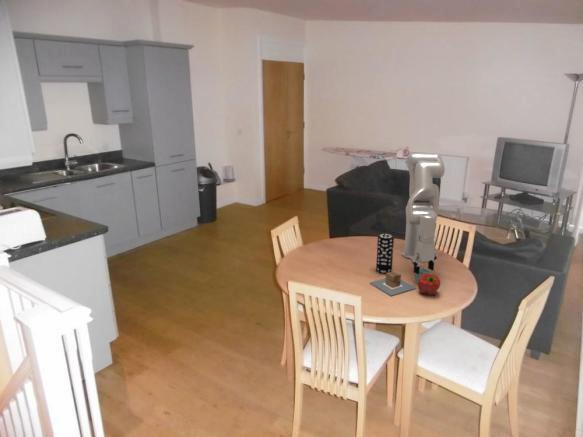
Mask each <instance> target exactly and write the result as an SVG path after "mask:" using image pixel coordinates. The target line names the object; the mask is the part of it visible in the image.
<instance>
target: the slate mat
mask: <svg viewBox="0 0 583 437" xmlns="http://www.w3.org/2000/svg"><path fill="white" fill-rule="evenodd" d="M369 284H370V285H372V286H373V287H375V288H376V289H378V290H380V292H383V293H385V294H386V295H388V296H389V297H394V296H397V295H401V294H404V293H408V292H410V291H414V290H417V287H416V286H414V285H412V284H410V283H409V282H407V281H405V280H403V279H401V282H400V286H397V287H394V288H392V287H390V286H388V285H386V277H384V278H380V279H378V280H373V281H370V282H369Z"/></svg>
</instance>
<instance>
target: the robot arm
mask: <svg viewBox="0 0 583 437" xmlns="http://www.w3.org/2000/svg"><path fill="white" fill-rule="evenodd" d="M406 165H407V169H408V173H409V191H408V192H409V199H408V201H407V205H406V207H405V216H406V217H405V221H406V222H405V237H404V250H402V251H401V252H400V254H401V256H402V257H404V258H405V259H410V261H411V263H412V264H413V273H414V274H415V275H416V274H419V270H420V268H421V267H420V265H421V263H425V262H428V264H427V270H430V271H434V267H435V263H436V260H437V259H438V255H439V252H437V251H436V242H435V238H436V223H437V220H438V215H439V204H440V203H439V202H440V200H439V199H440V189H439V188H440V187H439V186H438V185H437V184H435V183H433V179H441V178H442V177H443V176H444V175H445V168H446V167H445V163H444V161H443V159H442V156H441V154H440V153H438V152H412V153H409V154H408V155H407V157H406ZM415 201H422V202H415ZM423 201H426V202H423ZM427 201H429V202H427Z"/></svg>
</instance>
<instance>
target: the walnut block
mask: <svg viewBox="0 0 583 437" xmlns="http://www.w3.org/2000/svg"><path fill="white" fill-rule="evenodd" d="M385 278H386V285H388V286H390V287H392V288H394V287H397V286H400V282H401V280H402V279H401V278H402V274H400V273H399V272H397V271H395V270H392V272H388V273H386V274H385Z"/></svg>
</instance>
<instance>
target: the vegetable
mask: <svg viewBox="0 0 583 437" xmlns="http://www.w3.org/2000/svg"><path fill="white" fill-rule="evenodd" d="M441 283H442V282H441V279H440V278H439V277H438V276H437V275H436V274H432V273H431V274H428V273H424V274H422V276H421V277H419V280H418V281H417V287H418V290H419V291H420V293H421V294H423V295H424V294H426V295H429V296H432V295H433V296H434V295H435V294H436V293H437V291H438V290H439V289H440V286H441Z"/></svg>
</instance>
